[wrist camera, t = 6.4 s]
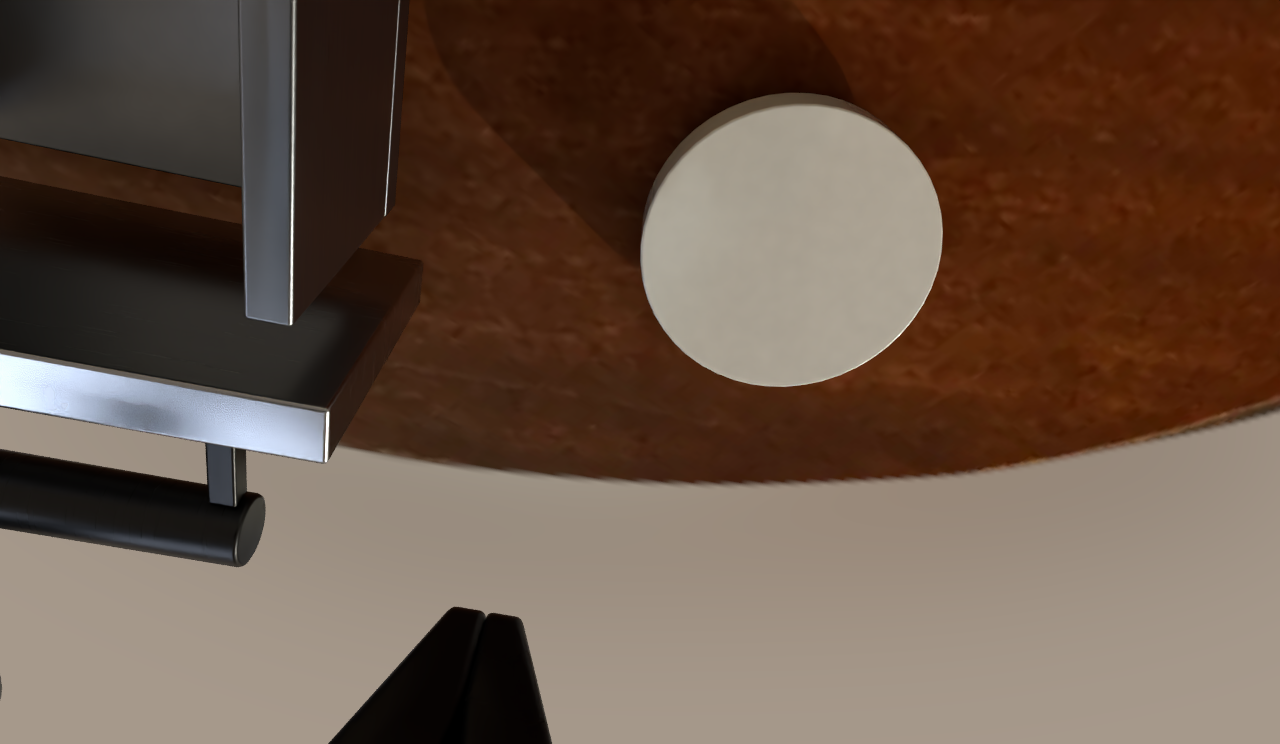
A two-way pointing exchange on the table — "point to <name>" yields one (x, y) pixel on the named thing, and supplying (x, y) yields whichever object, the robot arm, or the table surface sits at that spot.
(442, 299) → the table surface
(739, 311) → the cylinder
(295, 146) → the drawer
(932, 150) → the table surface
